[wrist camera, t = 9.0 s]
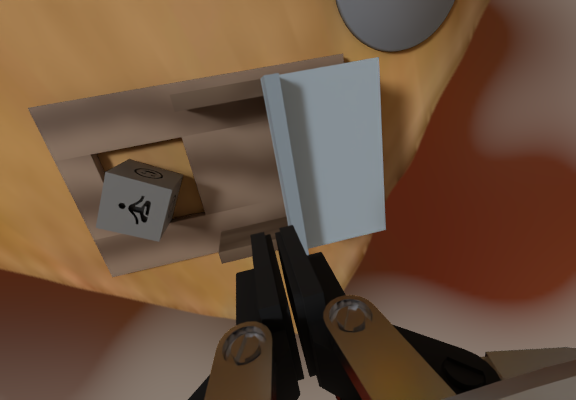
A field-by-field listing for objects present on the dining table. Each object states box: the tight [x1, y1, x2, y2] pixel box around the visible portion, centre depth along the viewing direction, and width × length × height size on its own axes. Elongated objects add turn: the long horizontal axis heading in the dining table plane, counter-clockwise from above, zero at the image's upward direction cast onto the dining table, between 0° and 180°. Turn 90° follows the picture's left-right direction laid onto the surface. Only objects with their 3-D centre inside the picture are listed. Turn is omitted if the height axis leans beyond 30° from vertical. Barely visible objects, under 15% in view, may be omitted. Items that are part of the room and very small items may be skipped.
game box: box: [28, 54, 344, 277], centre depth 25 cm, size 17×27×5 cm, turn 100°
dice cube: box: [96, 159, 183, 242], centre depth 25 cm, size 5×5×5 cm
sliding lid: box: [261, 57, 386, 255], centre depth 22 cm, size 15×9×3 cm, turn 10°
